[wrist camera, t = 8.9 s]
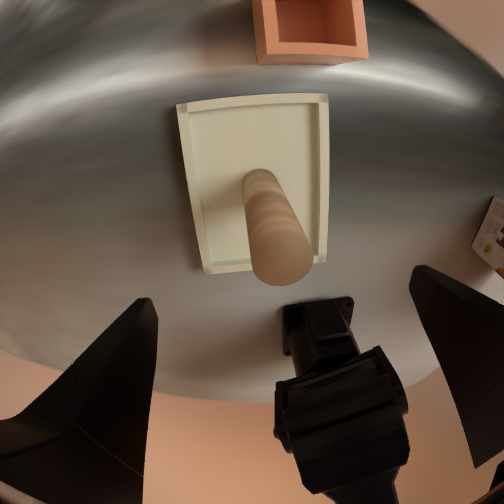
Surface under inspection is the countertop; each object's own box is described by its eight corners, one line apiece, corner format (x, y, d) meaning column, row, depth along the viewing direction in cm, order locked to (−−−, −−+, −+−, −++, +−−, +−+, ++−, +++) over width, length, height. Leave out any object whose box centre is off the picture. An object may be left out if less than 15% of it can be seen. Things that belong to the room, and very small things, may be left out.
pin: (279, 201, 19) (312, 282, 12) (243, 204, 19) (253, 289, 12) (277, 167, 18) (314, 229, 10) (240, 170, 18) (248, 235, 10)
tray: (321, 253, 22) (325, 261, 21) (205, 265, 22) (204, 274, 21) (322, 93, 16) (327, 93, 15) (179, 104, 16) (176, 104, 15)
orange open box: (334, 65, 15) (368, 58, 11) (257, 65, 15) (266, 54, 11) (328, -1, 13) (358, -24, 8) (250, -4, 12) (258, -33, 8)
